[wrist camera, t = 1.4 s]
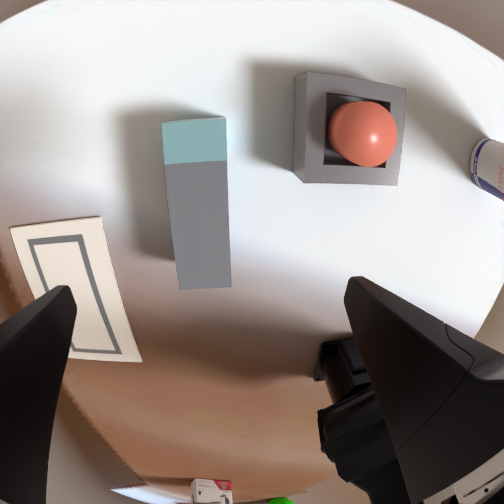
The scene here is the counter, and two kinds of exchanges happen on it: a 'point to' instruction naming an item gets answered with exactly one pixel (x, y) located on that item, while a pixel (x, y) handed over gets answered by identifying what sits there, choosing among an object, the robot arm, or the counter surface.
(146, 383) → the counter surface
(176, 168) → the teal-tipped grey block
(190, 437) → the counter surface
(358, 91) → the button housing
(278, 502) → the plastic bottle
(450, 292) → the counter surface
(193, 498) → the ink box
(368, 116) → the button
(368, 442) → the robot arm
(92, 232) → the paper sheet
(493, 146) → the energy drink
